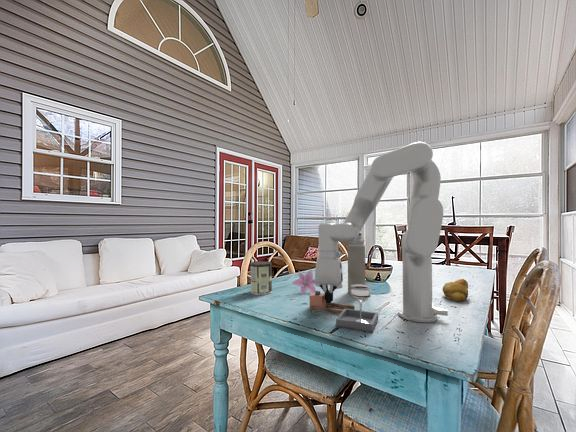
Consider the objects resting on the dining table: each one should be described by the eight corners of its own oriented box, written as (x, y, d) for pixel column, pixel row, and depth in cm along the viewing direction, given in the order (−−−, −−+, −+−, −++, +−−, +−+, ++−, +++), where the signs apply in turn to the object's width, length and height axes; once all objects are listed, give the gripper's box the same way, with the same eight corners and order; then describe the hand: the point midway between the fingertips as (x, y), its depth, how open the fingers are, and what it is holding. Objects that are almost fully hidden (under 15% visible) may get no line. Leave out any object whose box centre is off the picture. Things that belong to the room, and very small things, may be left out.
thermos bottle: (363, 290, 135) (362, 232, 135) (367, 295, 127) (366, 233, 127) (346, 290, 135) (345, 232, 135) (349, 295, 127) (349, 233, 127)
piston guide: (354, 309, 109) (354, 305, 109) (348, 318, 99) (348, 313, 99) (317, 304, 115) (317, 300, 115) (308, 312, 106) (308, 308, 106)
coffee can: (262, 288, 142) (262, 260, 142) (276, 291, 135) (276, 262, 135) (246, 292, 135) (245, 262, 135) (260, 296, 128) (259, 265, 128)
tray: (378, 320, 97) (378, 312, 97) (372, 332, 87) (372, 324, 87) (344, 315, 102) (344, 308, 102) (336, 326, 92) (335, 319, 92)
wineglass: (355, 316, 99) (355, 282, 99) (374, 321, 95) (374, 285, 95) (346, 322, 94) (346, 286, 94) (366, 327, 89) (365, 289, 89)
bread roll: (469, 304, 113) (468, 284, 113) (441, 300, 118) (441, 281, 118) (468, 296, 124) (468, 278, 124) (443, 293, 129) (442, 276, 129)
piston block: (325, 306, 112) (325, 290, 112) (321, 309, 108) (321, 293, 108) (314, 304, 114) (313, 289, 114) (309, 308, 110) (309, 292, 110)
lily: (288, 295, 133) (292, 279, 129) (296, 280, 143) (299, 265, 139) (312, 304, 130) (317, 288, 126) (318, 288, 140) (323, 273, 136)
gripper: (349, 254, 109) (350, 301, 109) (313, 252, 116) (313, 297, 116) (345, 257, 102) (345, 307, 102) (306, 255, 109) (307, 302, 109)
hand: (328, 302), depth 109 cm, fingers closed
